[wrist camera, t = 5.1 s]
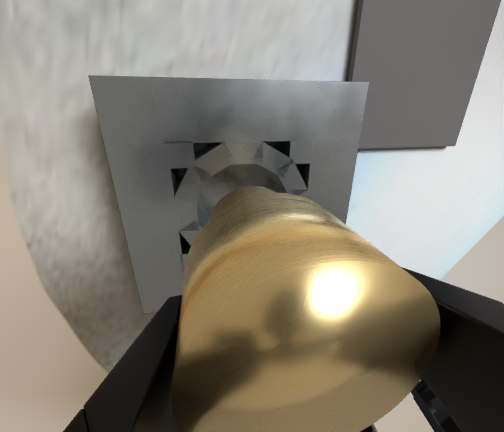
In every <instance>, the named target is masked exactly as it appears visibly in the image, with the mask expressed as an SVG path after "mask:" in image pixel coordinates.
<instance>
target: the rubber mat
mask: <svg viewBox="0 0 504 432" xmlns="http://www.w3.org/2000/svg"><path fill="white" fill-rule="evenodd" d="M500 2H501V0H358V7H357V14H356V22H355V29H354V37H353V44H352V51H351V59H350V66H349V74H348V81H347V82H369V86H368V92H367V98H366V104H365V110H364V116H363V122H362V128H361V134H360V140H359V146H358V149H364V148H401V147H437V146H455V145H456V141H457V138H458V135H459V132H460V129H461V126H462V122H463V119H464V116H465V113H466V110H467V107H468V103H469V100H470V97H471V94H472V91H473V88H474V84H475V81H476V78H477V75H478V72H479V69H480V65H481V62H482V59H483V56H484V53H485V50H486V46H487V43H488V40H489V37H490V34H491V31H492V27H493V24H494V21H495V18H496V15H497V12H498V8H499V5H500Z"/></svg>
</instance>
